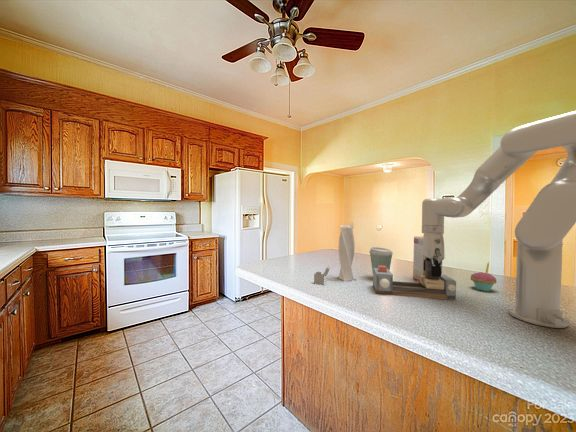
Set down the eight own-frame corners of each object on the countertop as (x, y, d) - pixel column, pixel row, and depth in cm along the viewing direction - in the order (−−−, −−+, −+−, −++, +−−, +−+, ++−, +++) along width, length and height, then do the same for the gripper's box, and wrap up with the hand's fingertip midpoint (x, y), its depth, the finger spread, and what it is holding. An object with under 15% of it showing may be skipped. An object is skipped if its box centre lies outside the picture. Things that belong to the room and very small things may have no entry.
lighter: (313, 283, 108) (314, 265, 107) (315, 282, 109) (315, 265, 109) (329, 285, 105) (329, 267, 105) (330, 284, 106) (330, 266, 106)
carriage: (444, 289, 90) (444, 263, 90) (426, 288, 91) (427, 262, 91) (435, 283, 98) (436, 259, 98) (420, 282, 99) (420, 258, 99)
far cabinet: (392, 295, 93) (393, 275, 92) (376, 294, 94) (376, 274, 94) (387, 287, 103) (387, 268, 103) (372, 286, 104) (373, 267, 104)
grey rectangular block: (456, 300, 88) (456, 281, 88) (447, 299, 89) (447, 281, 88) (444, 291, 98) (444, 274, 98) (436, 290, 99) (436, 273, 99)
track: (455, 299, 89) (455, 291, 88) (376, 293, 95) (376, 286, 94) (444, 291, 98) (444, 283, 98) (372, 286, 104) (373, 279, 104)
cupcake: (486, 286, 104) (487, 259, 104) (502, 293, 96) (502, 263, 96) (465, 286, 105) (466, 259, 105) (479, 292, 97) (479, 263, 96)
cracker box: (442, 287, 103) (443, 239, 102) (428, 287, 103) (429, 239, 102) (424, 278, 117) (425, 236, 116) (412, 278, 117) (413, 235, 116)
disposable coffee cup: (393, 278, 117) (394, 247, 117) (390, 283, 108) (391, 250, 107) (371, 275, 122) (371, 246, 122) (366, 280, 113) (367, 248, 113)
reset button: (386, 277, 97) (386, 267, 97) (379, 276, 98) (379, 266, 97) (385, 275, 100) (385, 265, 100) (378, 274, 100) (378, 265, 100)
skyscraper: (359, 281, 112) (359, 222, 111) (344, 283, 109) (345, 222, 108) (348, 276, 120) (349, 221, 119) (334, 278, 117) (335, 221, 116)
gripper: (453, 231, 85) (452, 280, 85) (434, 228, 102) (433, 269, 102) (430, 231, 87) (429, 279, 87) (415, 228, 104) (414, 268, 104)
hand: (431, 273), depth 95 cm, fingers open, 8 cm apart
